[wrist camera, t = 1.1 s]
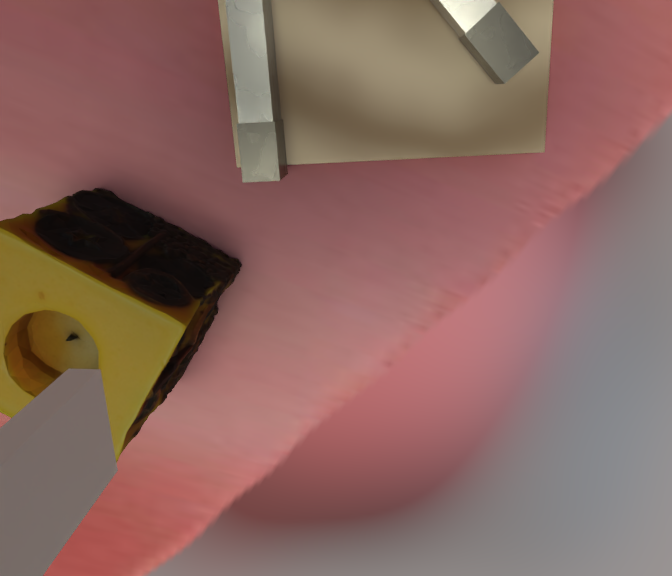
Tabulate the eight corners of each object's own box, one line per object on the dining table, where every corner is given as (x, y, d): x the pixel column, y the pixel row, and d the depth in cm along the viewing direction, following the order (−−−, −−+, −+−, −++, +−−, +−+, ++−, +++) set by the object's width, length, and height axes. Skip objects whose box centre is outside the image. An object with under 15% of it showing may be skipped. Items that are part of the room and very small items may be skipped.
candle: (245, 261, 36) (195, 323, 26) (182, 383, 39) (117, 476, 30) (97, 180, 35) (-10, 214, 25) (45, 312, 38) (-67, 385, 29)
